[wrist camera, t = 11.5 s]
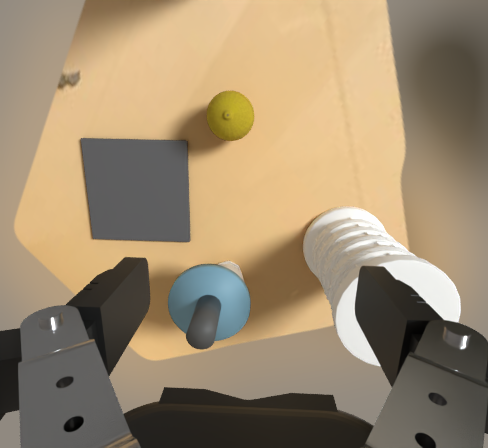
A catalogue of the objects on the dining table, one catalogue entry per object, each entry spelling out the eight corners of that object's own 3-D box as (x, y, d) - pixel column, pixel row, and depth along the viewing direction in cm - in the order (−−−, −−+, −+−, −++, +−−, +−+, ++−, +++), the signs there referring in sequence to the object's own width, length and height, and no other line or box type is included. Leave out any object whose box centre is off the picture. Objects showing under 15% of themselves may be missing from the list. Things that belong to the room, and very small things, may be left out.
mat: (83, 138, 42) (80, 138, 42) (187, 140, 42) (186, 140, 41) (95, 237, 46) (93, 238, 46) (190, 240, 46) (189, 241, 45)
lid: (168, 262, 38) (148, 292, 31) (251, 264, 38) (249, 294, 31) (172, 333, 41) (155, 375, 34) (249, 336, 41) (248, 378, 34)
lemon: (223, 146, 42) (216, 150, 34) (204, 106, 41) (192, 101, 33) (261, 128, 41) (262, 128, 33) (243, 86, 40) (240, 76, 32)
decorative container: (316, 291, 47) (351, 384, 30) (291, 222, 45) (314, 281, 27) (393, 267, 46) (476, 350, 29) (373, 193, 43) (451, 237, 26)
